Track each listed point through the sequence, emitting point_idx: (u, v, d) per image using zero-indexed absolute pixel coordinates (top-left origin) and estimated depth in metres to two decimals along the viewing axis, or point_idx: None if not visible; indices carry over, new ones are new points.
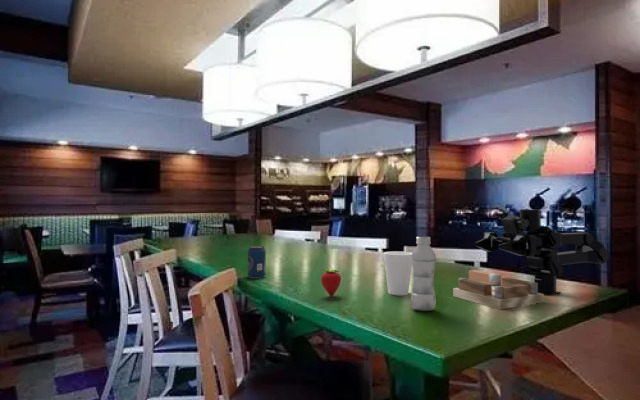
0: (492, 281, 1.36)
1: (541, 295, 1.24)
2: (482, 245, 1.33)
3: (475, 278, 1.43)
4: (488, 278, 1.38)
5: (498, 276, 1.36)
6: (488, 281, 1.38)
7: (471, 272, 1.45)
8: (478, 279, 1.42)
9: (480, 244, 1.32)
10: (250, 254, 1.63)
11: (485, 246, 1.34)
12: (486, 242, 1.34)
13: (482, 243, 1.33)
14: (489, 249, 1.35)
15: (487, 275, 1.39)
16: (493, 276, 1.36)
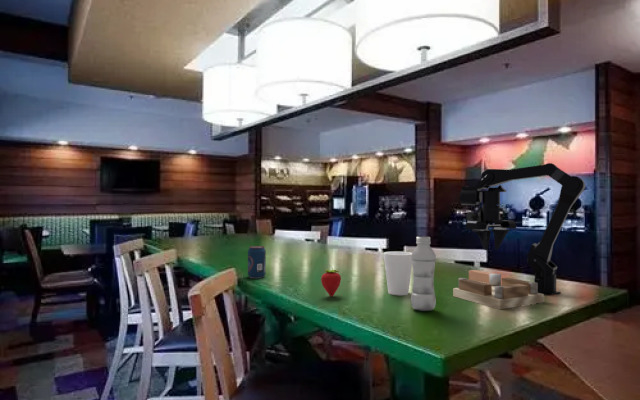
0: (492, 281, 1.36)
1: (541, 295, 1.24)
2: (497, 241, 1.49)
3: (475, 278, 1.43)
4: (488, 278, 1.38)
5: (498, 276, 1.36)
6: (488, 281, 1.38)
7: (471, 272, 1.45)
8: (478, 279, 1.42)
9: (496, 244, 1.49)
10: (250, 254, 1.63)
11: (499, 237, 1.48)
12: (496, 236, 1.49)
13: (496, 241, 1.49)
14: (502, 232, 1.47)
15: (487, 275, 1.39)
16: (493, 276, 1.36)
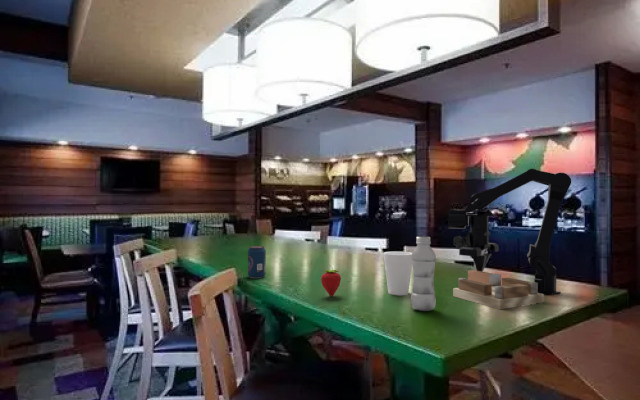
0: (492, 281, 1.36)
1: (541, 295, 1.24)
2: None
3: (475, 278, 1.43)
4: (488, 278, 1.38)
5: (498, 276, 1.36)
6: (488, 281, 1.38)
7: (470, 272, 1.45)
8: (478, 279, 1.42)
9: (479, 269, 1.46)
10: (250, 254, 1.63)
11: None
12: None
13: None
14: None
15: (487, 275, 1.39)
16: (493, 276, 1.36)
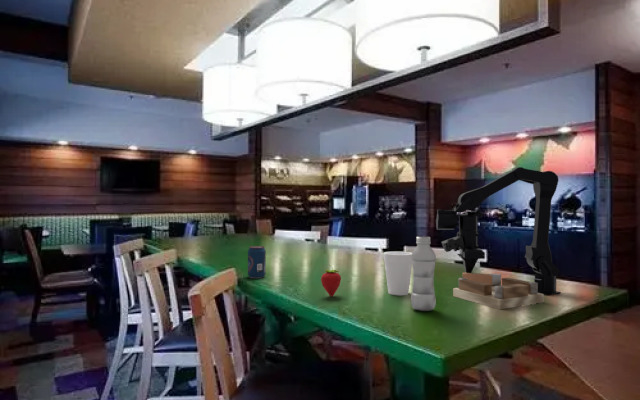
0: (497, 281, 1.36)
1: (541, 295, 1.24)
2: None
3: None
4: (491, 279, 1.37)
5: None
6: (491, 282, 1.37)
7: (467, 275, 1.39)
8: None
9: None
10: (250, 254, 1.63)
11: None
12: None
13: None
14: None
15: (489, 276, 1.37)
16: (498, 276, 1.36)
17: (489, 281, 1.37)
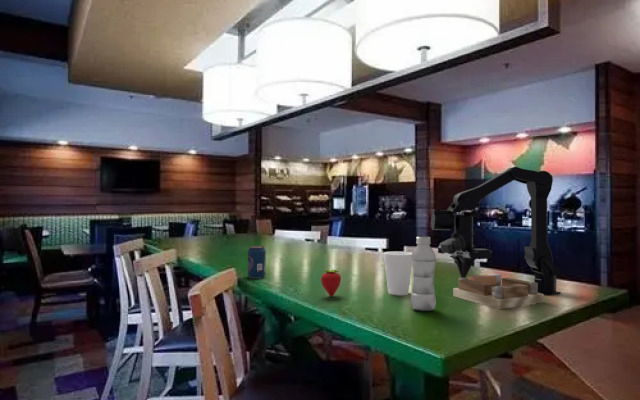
0: (500, 281, 1.36)
1: (541, 295, 1.24)
2: None
3: None
4: (495, 279, 1.36)
5: None
6: (495, 282, 1.36)
7: (477, 278, 1.33)
8: None
9: None
10: (250, 254, 1.63)
11: None
12: None
13: None
14: None
15: (494, 277, 1.36)
16: (500, 276, 1.37)
17: (494, 282, 1.36)
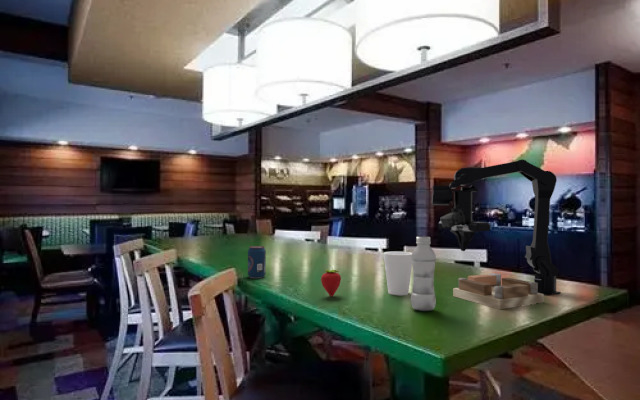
0: (500, 281, 1.36)
1: (541, 295, 1.24)
2: None
3: None
4: (495, 279, 1.36)
5: None
6: (495, 282, 1.36)
7: (477, 278, 1.33)
8: None
9: None
10: (250, 254, 1.63)
11: None
12: None
13: None
14: None
15: (494, 277, 1.36)
16: (500, 276, 1.37)
17: (494, 282, 1.36)
